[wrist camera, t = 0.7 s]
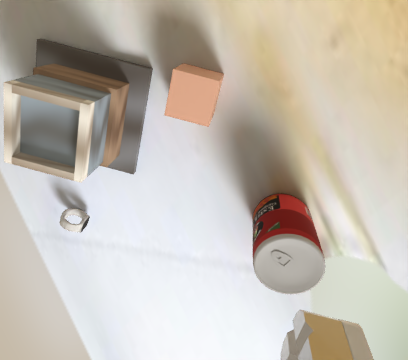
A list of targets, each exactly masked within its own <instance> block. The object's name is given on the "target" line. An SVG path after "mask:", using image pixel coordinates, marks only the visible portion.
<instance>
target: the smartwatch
mask: <svg viewBox="0 0 408 360" xmlns="http://www.w3.org/2000/svg"><path fill="white" fill-rule="evenodd" d="M71 215H76V216H78V217H81V218H82V221H81V222H80V224H71V223H69V222H68V221H67V220H66V218H67V217H68V216H71ZM89 218H90V217H89V215H87V213H85V212H84V211H82V210H80V209H76V208H69V209H66V210H65V211H64V212H63V213H62V215H61V219H60V225H61V226H62V227H63V228H64V229H66V230H68V231H72V232H79V233H81V232H82V231H83V229H84V228H85V227H86V226H87V223H88V221H89Z"/></svg>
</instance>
